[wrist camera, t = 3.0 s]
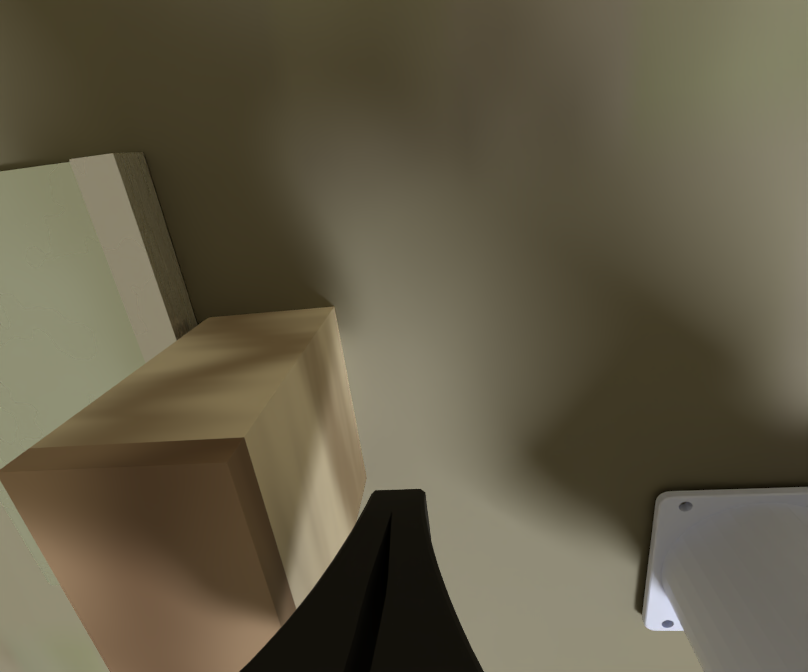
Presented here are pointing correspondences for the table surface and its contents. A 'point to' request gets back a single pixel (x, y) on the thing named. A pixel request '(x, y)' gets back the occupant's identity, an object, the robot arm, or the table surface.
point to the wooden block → (200, 492)
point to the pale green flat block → (79, 295)
